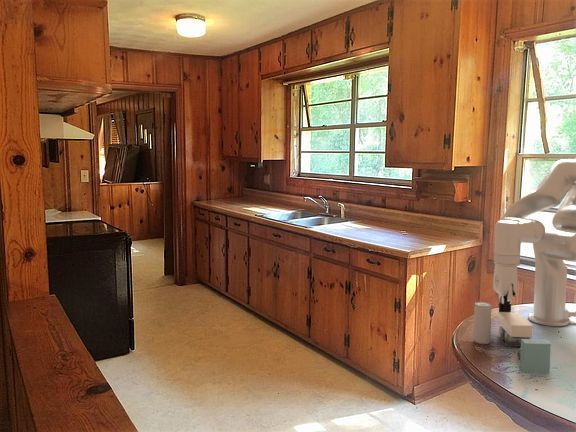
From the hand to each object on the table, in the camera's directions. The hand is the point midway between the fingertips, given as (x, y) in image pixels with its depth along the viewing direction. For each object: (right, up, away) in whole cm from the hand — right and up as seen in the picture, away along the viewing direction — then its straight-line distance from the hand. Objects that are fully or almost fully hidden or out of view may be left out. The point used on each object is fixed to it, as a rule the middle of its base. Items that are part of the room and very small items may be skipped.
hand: (504, 314), depth 156 cm
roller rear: (-1, -6, -5) cm, 8 cm away
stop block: (-4, -9, -27) cm, 29 cm away
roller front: (-1, -7, -11) cm, 13 cm away
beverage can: (-10, -7, -7) cm, 14 cm away
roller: (-2, -8, -20) cm, 22 cm away
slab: (-1, -3, -9) cm, 9 cm away
